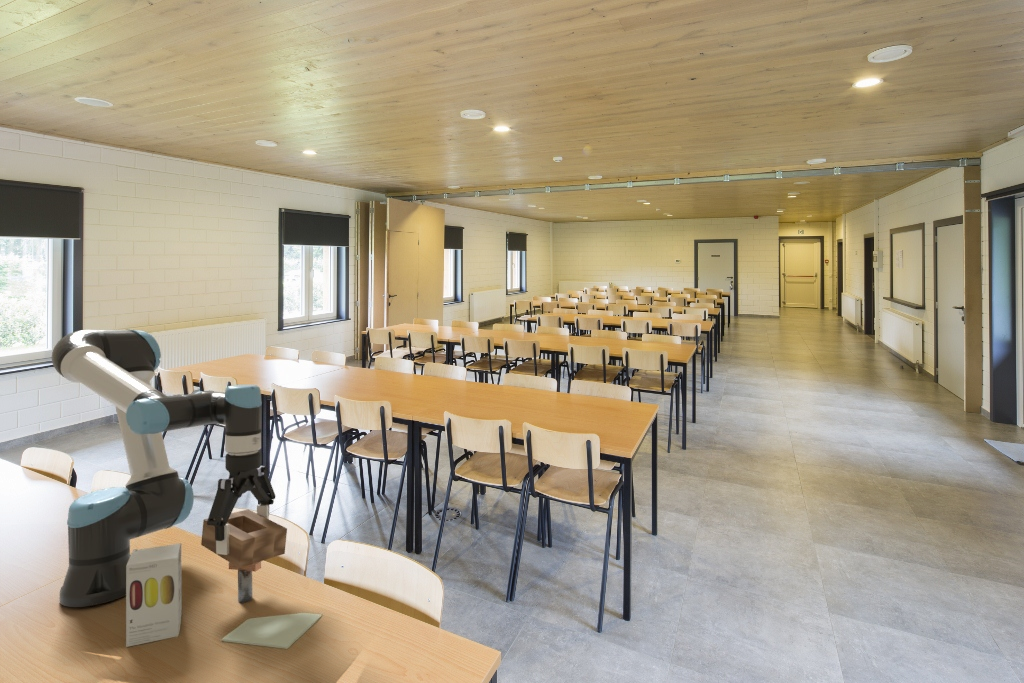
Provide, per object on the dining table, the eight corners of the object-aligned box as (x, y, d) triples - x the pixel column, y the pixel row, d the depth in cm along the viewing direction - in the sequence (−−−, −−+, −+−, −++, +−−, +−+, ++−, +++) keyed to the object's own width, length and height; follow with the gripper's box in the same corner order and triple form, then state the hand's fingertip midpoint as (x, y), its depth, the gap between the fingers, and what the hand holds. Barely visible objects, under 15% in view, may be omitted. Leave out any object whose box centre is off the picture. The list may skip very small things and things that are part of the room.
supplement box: (124, 648, 112) (123, 565, 111) (131, 627, 120) (130, 549, 120) (180, 636, 116) (179, 556, 116) (182, 616, 124) (182, 541, 124)
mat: (221, 641, 114) (221, 639, 114) (262, 610, 127) (262, 608, 127) (287, 648, 111) (287, 646, 111) (322, 616, 124) (322, 614, 124)
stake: (226, 607, 128) (225, 564, 128) (238, 599, 132) (237, 557, 132) (253, 610, 127) (252, 566, 127) (264, 602, 131) (263, 559, 131)
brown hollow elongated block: (239, 568, 120) (241, 540, 120) (201, 544, 129) (203, 519, 129) (284, 553, 129) (287, 528, 129) (246, 533, 138) (248, 509, 138)
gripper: (218, 465, 116) (219, 565, 116) (290, 442, 140) (290, 525, 141) (187, 463, 117) (188, 562, 118) (263, 440, 142) (263, 522, 142)
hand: (243, 542), depth 129 cm, fingers closed on brown hollow elongated block, 13 cm apart
